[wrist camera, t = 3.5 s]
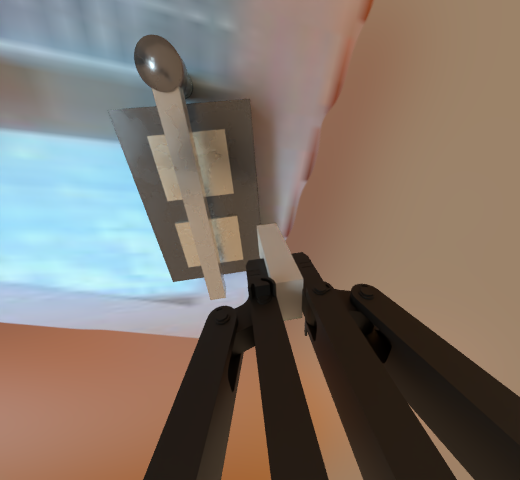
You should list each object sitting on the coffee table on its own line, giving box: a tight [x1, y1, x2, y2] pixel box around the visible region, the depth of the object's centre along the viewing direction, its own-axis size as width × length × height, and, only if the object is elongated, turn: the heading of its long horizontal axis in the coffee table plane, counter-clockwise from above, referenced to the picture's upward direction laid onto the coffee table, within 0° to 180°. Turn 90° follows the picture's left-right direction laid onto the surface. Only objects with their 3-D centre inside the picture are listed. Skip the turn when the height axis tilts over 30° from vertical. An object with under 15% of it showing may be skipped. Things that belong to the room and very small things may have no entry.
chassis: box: [108, 76, 260, 282], centre depth 25 cm, size 25×14×5 cm, turn 4°
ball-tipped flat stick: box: [134, 35, 226, 300], centre depth 21 cm, size 26×3×3 cm, turn 4°
